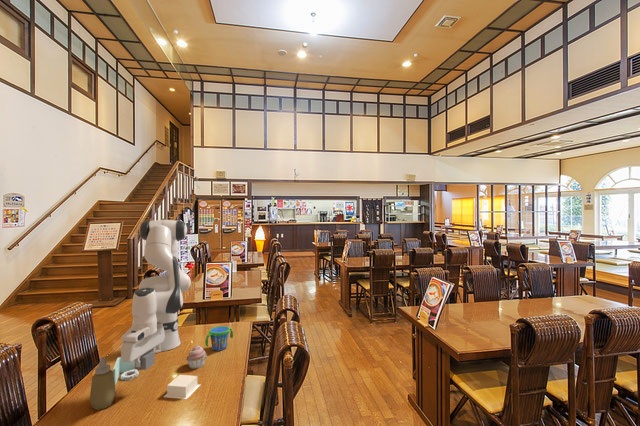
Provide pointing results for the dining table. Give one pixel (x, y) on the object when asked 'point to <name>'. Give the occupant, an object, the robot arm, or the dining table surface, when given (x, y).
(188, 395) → the light grey flat slab
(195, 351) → the cupcake
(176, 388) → the cream base block
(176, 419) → the dining table surface
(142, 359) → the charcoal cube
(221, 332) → the snack cup
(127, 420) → the dining table surface
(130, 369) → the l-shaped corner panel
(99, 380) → the squeeze bottle
